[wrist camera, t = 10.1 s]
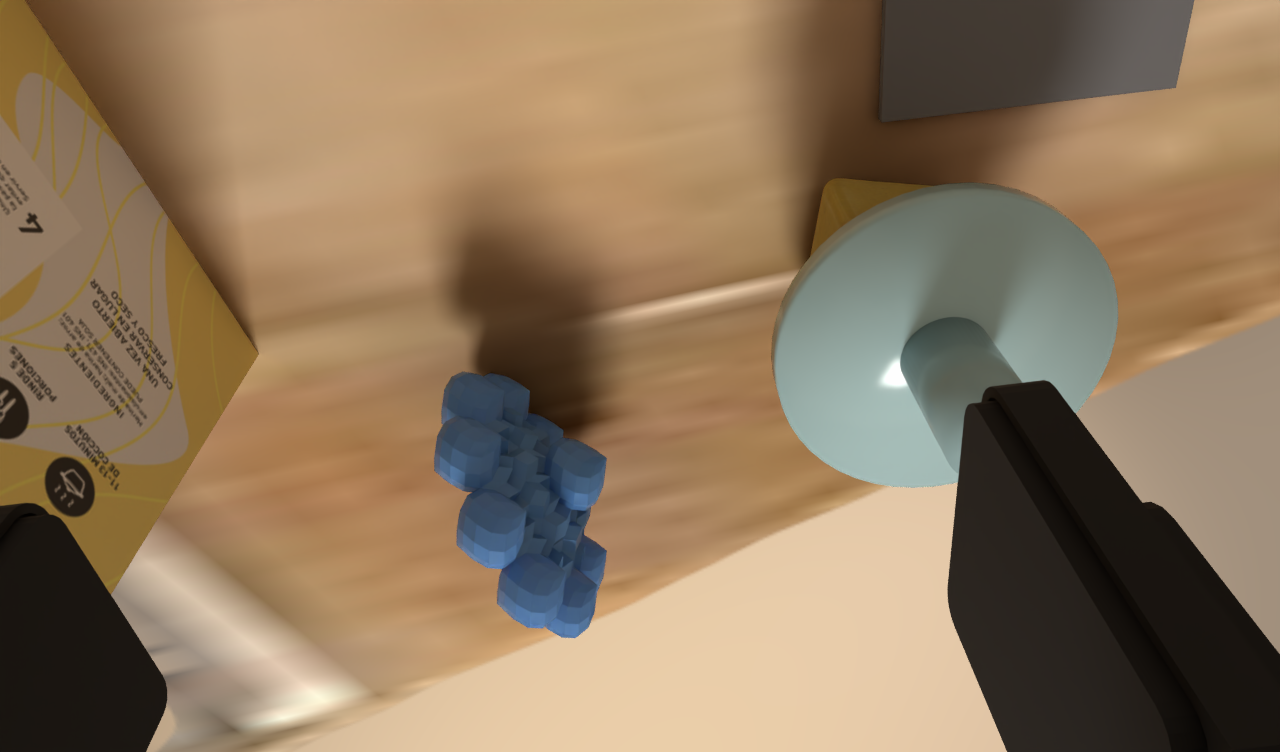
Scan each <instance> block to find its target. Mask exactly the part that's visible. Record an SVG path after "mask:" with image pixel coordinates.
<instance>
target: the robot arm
mask: <svg viewBox="0 0 1280 752" xmlns="http://www.w3.org/2000/svg"><path fill="white" fill-rule="evenodd" d="M948 603H949V609H950V613H951V617H952V620H953V623H954V626H955V629H956V631H957V633H958V636H959V638H960V641H961V643H962V645H963V648H964V650H965V652H966V655H967V657H968V660H969V662H970V664H971V667H972V669H973V671H974V674H975V676H976V678H977V681H978V683H979V686H980V688H981V690H982V693H983V695H984V698H985V700H986V702H987V705H988V707H989V710H990V712H991V714H992V717H993V719H994V721H995V724H996V726H997V729H998V731H999V733H1000V736H1001V738H1002V741H1003V743H1004V745H1005V748H1006V750H1007V752H1280V654H1279V653H1278V652H1277V650H1276V649H1275V648H1274V646H1273V645H1272V644H1271V643H1270V642H1269V640H1268V639H1267V637H1266V636H1265V635H1264V634H1263V632H1262V631H1261V630H1260V629H1259V627H1258V626H1257V625H1256V623H1255V622H1254V621H1253V619H1252V618H1251V617H1250V616H1249V614H1248V613H1247V612H1246V611H1245V609H1244V608H1243V607H1242V605H1241V604H1240V603H1239V602H1238V600H1237V599H1236V598H1235V596H1234V595H1233V594H1232V593H1231V591H1230V590H1229V589H1228V587H1227V586H1226V585H1225V583H1224V582H1223V581H1222V580H1221V578H1220V577H1219V576H1218V574H1217V573H1216V572H1215V571H1214V569H1213V568H1212V567H1211V565H1210V564H1209V563H1208V562H1207V560H1206V559H1205V558H1204V556H1203V555H1202V554H1201V553H1200V551H1199V550H1198V549H1197V547H1196V546H1195V545H1194V544H1193V542H1192V541H1191V540H1190V538H1189V537H1188V536H1187V535H1186V533H1185V532H1184V531H1183V530H1182V528H1181V527H1180V526H1179V524H1178V523H1177V522H1176V520H1175V519H1174V518H1173V517H1172V516H1171V515H1170V514H1169V513H1168V512H1167V511H1166V510H1165V509H1164V508H1163V507H1161V506H1159V505H1156V504H1155V503H1152V502H1145V503H1142V502H1141V501H1140V499H1139V498H1138V496H1137V495H1136V494H1135V493H1134V491H1133V490H1132V489H1131V487H1130V486H1129V485H1128V483H1127V482H1126V480H1125V479H1124V478H1123V476H1122V475H1121V474H1120V472H1119V471H1118V470H1117V468H1116V467H1115V466H1114V464H1113V463H1112V462H1111V461H1110V459H1109V458H1108V457H1107V455H1106V454H1105V453H1104V451H1103V450H1102V448H1101V447H1100V446H1099V444H1098V443H1097V442H1096V441H1095V439H1094V438H1093V437H1092V435H1091V434H1090V433H1089V431H1088V430H1087V429H1086V428H1085V426H1084V425H1083V423H1082V422H1081V421H1080V419H1079V418H1078V417H1077V415H1076V414H1075V413H1074V411H1073V410H1072V409H1071V407H1070V406H1069V405H1068V403H1067V402H1066V401H1065V399H1064V398H1063V397H1062V395H1061V394H1060V393H1059V391H1058V390H1057V389H1056V387H1055V386H1054V385H1053V384H1052V383H1051V382H1049V381H1045V380H1040V381H1032V382H1024V383H1016V384H1007V385H999V386H991V387H988V388H987V389H986V390H985V391H984V393H983V396H982V401H981V402H979V403H971V404H969V405H967V408H966V410H965V415H964V424H963V434H962V444H961V455H960V465H959V475H958V486H957V496H956V507H955V517H954V527H953V537H952V548H951V559H950V569H949V579H948ZM166 703H167V687H166V682H165V680H164V678H163V675H162V674H161V672H160V671H159V669H158V668H157V666H156V665H155V663H154V661H153V660H152V658H151V657H150V655H149V654H148V652H147V651H146V649H145V647H144V646H143V644H142V643H141V641H140V640H139V638H138V637H137V635H136V633H135V632H134V630H133V629H132V627H131V626H130V624H129V622H128V621H127V619H126V618H125V616H124V615H123V613H122V612H121V610H120V608H119V607H118V605H117V604H116V602H115V601H114V599H113V598H112V596H111V594H110V593H109V591H108V590H107V588H106V587H105V585H104V583H103V582H102V580H101V579H100V577H99V576H98V574H97V573H96V571H95V569H94V568H93V566H92V565H91V563H90V562H89V560H88V559H87V557H86V555H85V554H84V552H83V551H82V549H81V548H80V546H79V545H78V543H77V541H76V540H75V538H74V537H73V535H72V534H71V532H70V530H69V529H68V527H67V526H66V524H65V523H64V522H63V521H62V520H61V518H59V517H57V516H55V515H50V514H49V513H48V512H47V511H46V510H45V509H44V508H43V507H41V506H39V505H37V504H36V503H20V504H12V505H4V506H0V752H146V750H147V748H148V746H149V744H150V742H151V740H152V738H153V735H154V733H155V731H156V729H157V727H158V725H159V723H160V720H161V718H162V716H163V714H164V711H165V708H166Z"/></svg>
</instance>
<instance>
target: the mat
mask: <svg viewBox="0 0 1280 752" xmlns="http://www.w3.org/2000/svg"><path fill="white" fill-rule="evenodd" d="M1193 4H1194V0H883V4H882V32H881V61H880V89H879V117H878V119H879V120H880V121H881V122H889V121H898V120H906V119H915V118H923V117H932V116H940V115H949V114H957V113H966V112H974V111H983V110H991V109H1000V108H1008V107H1017V106H1025V105H1034V104H1042V103H1051V102H1059V101H1068V100H1076V99H1085V98H1093V97H1102V96H1110V95H1119V94H1127V93H1136V92H1144V91H1153V90H1161V89H1170V88H1176V84H1177V80H1178V75H1179V70H1180V65H1181V61H1182V56H1183V51H1184V46H1185V42H1186V37H1187V32H1188V28H1189V23H1190V18H1191V13H1192V9H1193Z"/></svg>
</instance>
